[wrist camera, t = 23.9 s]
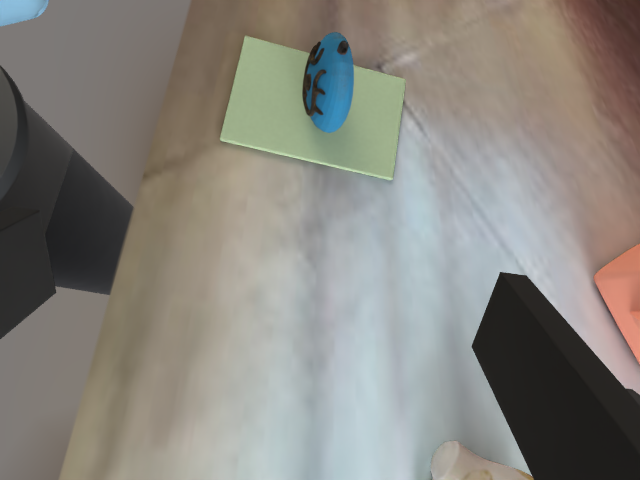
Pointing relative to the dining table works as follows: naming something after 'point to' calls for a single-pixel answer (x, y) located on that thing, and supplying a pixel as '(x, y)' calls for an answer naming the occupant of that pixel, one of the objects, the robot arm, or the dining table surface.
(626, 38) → the dining table surface
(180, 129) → the dining table surface
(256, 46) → the mat
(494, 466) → the mug
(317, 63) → the ornament
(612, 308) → the teapot
